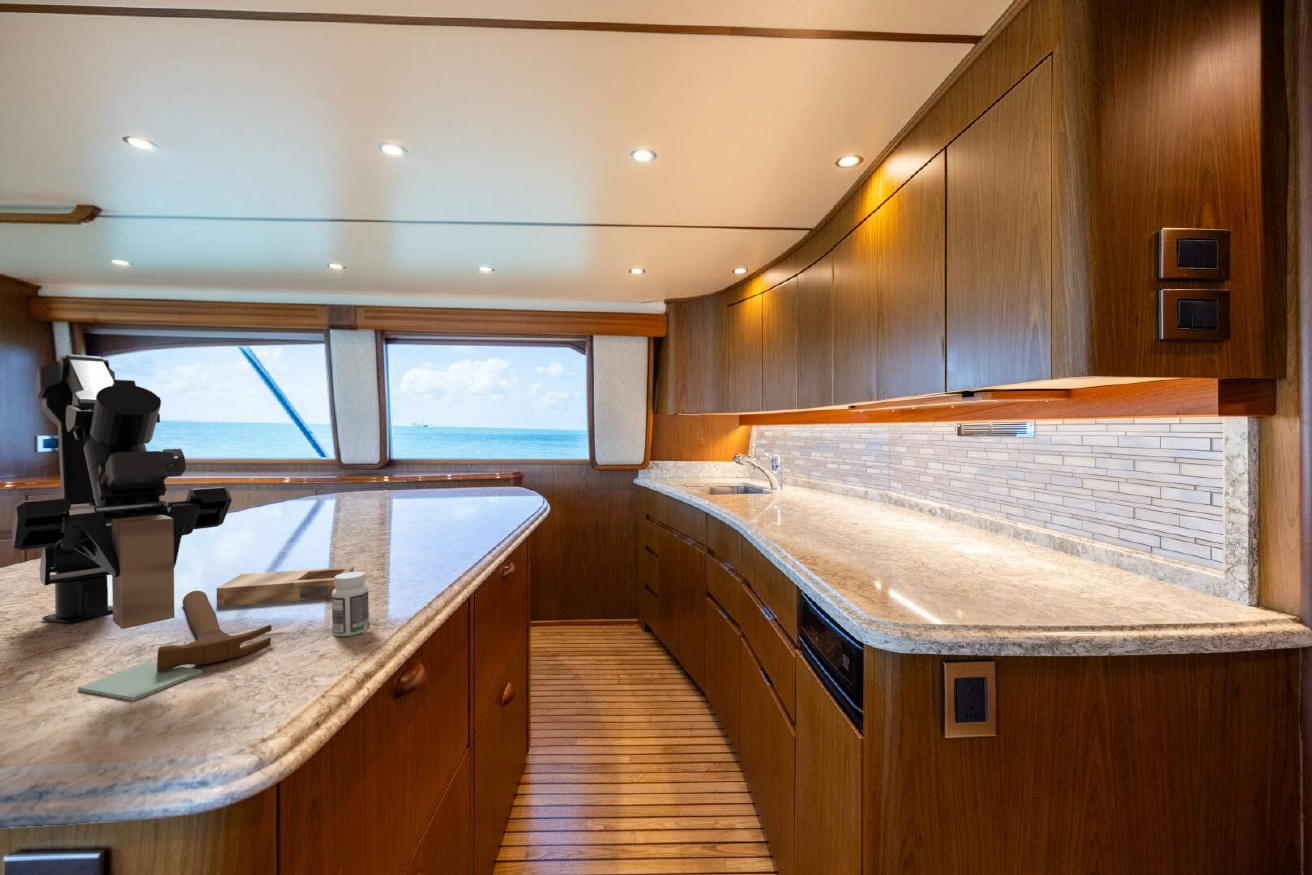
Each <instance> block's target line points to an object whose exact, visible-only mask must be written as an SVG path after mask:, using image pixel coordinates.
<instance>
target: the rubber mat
mask: <svg viewBox="0 0 1312 875" xmlns="http://www.w3.org/2000/svg"><path fill="white" fill-rule="evenodd" d="M201 674H203V669H197V668H191V667H185V666H178V667H175V668H172V669H170V670H165V671H160V672H157V662H153V661H148V662H145V663H142V664H139V665H136V666H134V667H131V668H128V669H125V670H122V671H120V672H117V673H114V674H112V675H109V676H105V677H103V678H100V679H98V680H95V681H91V682H88V683H85V684H83V685H80V686H78V687H77V691H78V692H81V693H82V692H83V693H89V694H93V693H96V694H95V695H98V694H101V695H100V696H104V695H106V696H105V697H109V696H110V697H111V698H115V697H119V698H118V699H120V698H123V699H122V700H125V699H127V700H126V701H131V700H132V702H135V701H138V700H139V698H140V699H142V698H145V697H147V696H149V695H151V694H154V693H157V692H159V691H161V690H165V689H166V688H167V689H168V688H169V687H172V686H174V685H176V684H180V683H181V682H184V681H186V680H188V679H189V680H190V679H192V678H194V677H196V676H199V675H201ZM110 697H109V698H110ZM124 698H125V699H124ZM134 700H135V701H134Z"/></svg>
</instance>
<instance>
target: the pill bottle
mask: <svg viewBox="0 0 1312 875" xmlns="http://www.w3.org/2000/svg"><path fill="white" fill-rule="evenodd" d="M365 583H366V573H365V572H364V571H354V572H347V573H342V574H339V575H336V576H335V578H334V585H335V587H336V589H334V590H333V592H332V598H331V610H332V611H331V616H332V617H331V618H332V619H331V620H332V624H331V625H332V635H334V636H336V637H350V636H351V637H352V636H356V635H359V634H361V633H364V632H365V631H367V630H368V629H369V626H370V619H369V618H370V616H369V615H370V612H369V609H370V608H369V587H368V586H367V585H366V584H365Z"/></svg>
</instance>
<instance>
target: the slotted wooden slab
mask: <svg viewBox="0 0 1312 875" xmlns="http://www.w3.org/2000/svg"><path fill="white" fill-rule="evenodd" d="M354 569H355V567H354V566H345V567H332V568H331V567H329V568H316V569H301V570H297V569H296V570H284V571H269V572H255V573H254V572H252V573H240V574H239V575H238V576H236V577H233V579H231V580H229V581H227V582H225V583H224V584H222V585H220V586H219V587H216V607H217V608H221V607H231V606H233V607H234V606H235V607H236V606H246V605H257V604H259V605H260V604H270V603H284V602H295V601H296V602H297V601H307V600H320V599H332V592H333V590H334V589H336V587H335V585H334V578H335V576H336V575H339V574H342V573H347V572H355V570H354Z"/></svg>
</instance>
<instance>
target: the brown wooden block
mask: <svg viewBox="0 0 1312 875" xmlns="http://www.w3.org/2000/svg"><path fill="white" fill-rule="evenodd" d="M111 523H112V545H113V547H114V550H115V553H116V555H117V558H118V561H119V567H120V574H119V577H113V576H112V575H111V577H112V578H111V580H112V581H111V586H112V590H111V591H112V593H111V594H112V606H113V612H112V622H113V623H114V624H116V625H117V627H119V628H120V629H121V630H125V629H129V628H130V629H131V628H134V627H139V626H143V625H148V624H152V623H157V622H161V621H166V620H171V619H175V617H176V616H175V567H174V534H173V518H171V517H168V516H165V515H153V516H143V517H133V518H123V519H113V520H111Z"/></svg>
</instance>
